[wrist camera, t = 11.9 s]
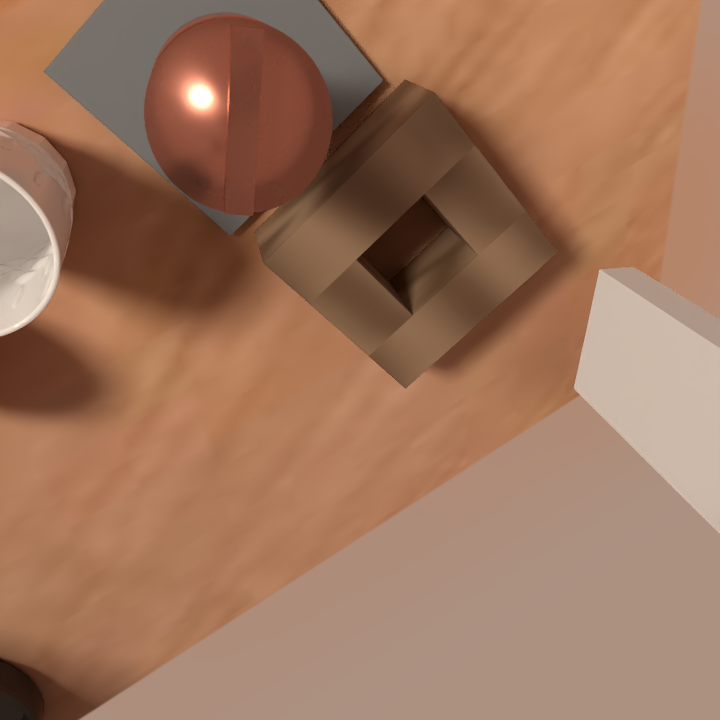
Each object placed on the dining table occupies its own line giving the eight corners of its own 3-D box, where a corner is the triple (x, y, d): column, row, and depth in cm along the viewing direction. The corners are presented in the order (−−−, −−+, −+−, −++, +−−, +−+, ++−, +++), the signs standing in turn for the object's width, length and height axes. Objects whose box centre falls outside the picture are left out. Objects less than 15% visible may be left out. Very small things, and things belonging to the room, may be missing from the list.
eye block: (384, 350, 45) (405, 388, 41) (254, 232, 39) (263, 263, 35) (520, 225, 43) (557, 252, 38) (405, 79, 37) (434, 92, 32)
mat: (229, 232, 38) (230, 236, 38) (45, 70, 32) (43, 71, 32) (380, 78, 36) (383, 80, 36) (213, -127, 30) (213, -129, 30)
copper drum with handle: (154, -4, 32) (140, 5, 20) (288, 15, 33) (347, 34, 22) (156, 135, 34) (144, 214, 23) (278, 146, 36) (326, 225, 25)
